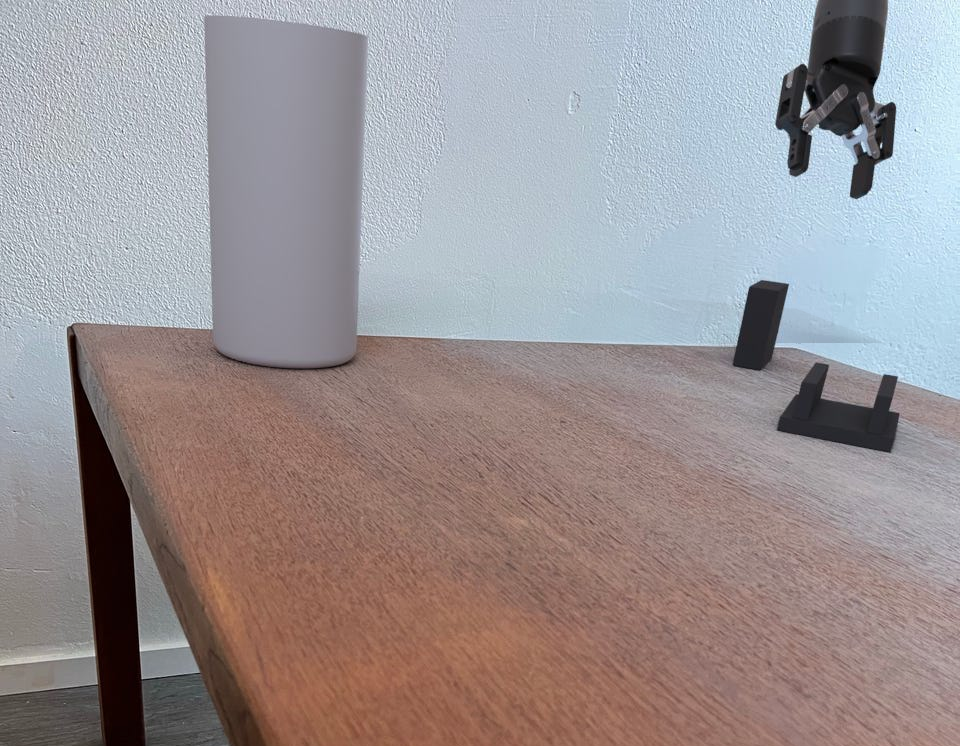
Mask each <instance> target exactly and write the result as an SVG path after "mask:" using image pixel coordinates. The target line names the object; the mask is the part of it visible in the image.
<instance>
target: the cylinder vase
mask: <svg viewBox="0 0 960 746" xmlns="http://www.w3.org/2000/svg"><path fill="white" fill-rule="evenodd" d="M203 22H204V24H203V25H204V56H205V57H204V58H205V63H204V64H205V93H206V94H205V95H206V98H205V99H206V129H207V130H206V132H207V169H208V173H207V175H208V203H209V204H208V205H209V208H208V209H209V241H210V243H209V245H210V277H211V279H210V280H211V284H210V285H211V314H212V315H211V316H212V317H211V318H212V342H213V346H214V348H215V349H216V350H217V351H218V352H219V353H220V354H222V356H223V355H224V356H225V357H228V358H230V359H232V360H234V359H235V361H238V362H241V361H242V362H241V363H245V362H246V363H245V364H251V365H255V366H263V367H270V368H280V369H321V368H322V369H323V368H330V367H335V366H336V367H337V366H339V365H344V364H345V363H347V362H350V361H351V360H352V359H353V358H354V357H355V355H356V352H357V345H358V344H357V341H358V314H359V291H360V289H359V288H360V266H361V264H360V263H361V239H362V238H361V237H362V213H363V211H362V210H363V187H364V185H363V183H364V159H365V135H366V108H367V107H366V106H367V85H368V83H367V81H368V58H369V36H367V35H365V34H362V33H358V32H355V31H349V30H344V29H338V28H333V27H327V26H321V25H314V24H309V23H301V22H294V21H285V20H276V19H268V18H260V17H259V18H258V17H248V16H235V15H218V14H217V15H211V14H210V15H205V16H204V17H203Z"/></svg>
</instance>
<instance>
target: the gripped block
mask: <svg viewBox="0 0 960 746" xmlns="http://www.w3.org/2000/svg"><path fill="white" fill-rule="evenodd" d="M789 286H790V283H787V282H786V283H785V282H778V281H772V280H766V279H760V280H759V281H756V282H755V283H753V284H751V285H750V286H748V289H747V294H746V300H745V305H744V309H743V313H742V318H741V323H740V327H739V333H738V337H737V341H736V345H735V351H734V356H733V360H732V366H733V365H734V366H735V367H740V368H744V367H745V369H751V370H756V371H761V370H762V369H763V368H764V367H765V366H766V365H768V363H769V362H770V361H771V360H772V359H773V357H774V356H773V355H774V352H775V348H776V342H777V339H778V334H779V330H780V325H781V322H782V321H781V320H782V316H783V313H784V308H785V303H786V300H787V295H788V291H789V288H790V287H789Z"/></svg>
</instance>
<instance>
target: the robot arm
mask: <svg viewBox="0 0 960 746" xmlns="http://www.w3.org/2000/svg"><path fill="white" fill-rule="evenodd" d="M816 2H817V3H816V7H815V11H814V14H813V22H812V30H811V39H810V46H809V54H808V62H807V65H806V64H804V63H801V64H799V65H797V66H796V67H794V68H793V69H791V70H790V71H789V72H787V73H785V74H784V75H783V77H782V84H781V89H780V95H779V101H778V106H777V111H776V116H775V123H774V124H775V127H776V129H777V130H779V131H785V132H786V133H787V138H788V139H789V147H788V154H787V161H786V164H787V169H789V170H788V174H789V176H791V177H794V178H798V177H799V176H801V175H803V174H805V173H807V171H808V169H809V167H810V166H809V164H810V157H811V150H812V141H813V135H812V134H810V133H811V132H812V131H813V130H814V129H815V128H816V127H817V125H818V128H819V129H820V130H823V131H830V132H831V133H832V134H834V135H835V136H839V137H841V139H842V141H843V144H844V146H845V148H846V149H849V150H850V152H851V155H852V157H853V160H854V164H853V166H852V174H851V181H850V189H849V197H850V198H852V199H854V200H858V199H861V198H862V197H864V196H865V197H866V195H868V194H869V192H870V191H871V190H872V188H873V184H874V175H875V167H876V165H878V164H879V163H882V162H884V161H886V160H888V159H890V158H892V157H893V154H894V146H895V145H894V144H895V143H894V142H895V131H896V118H897V106H896V103H895V102H893V101H890V102H888V103H886V104H883V103H880V102H876V100H875V95H874V88H875V85H876V83H877V81H878V79H879V76H880V74H881V71H882V70H881V68H882V61H883V53H884V44H885V37H886V28H887V20H888V11H889V0H817V1H816ZM804 96H806V98H807V102H808V104H809V107H808V108H807V110H806V111H805V112H804V113H803V114H802V115H801V113H802V106H803V103H804V102H803V100H804ZM860 126H861V133H859V134H857V135H856V134H855V133H854V131H856V130H857V129H858V128H859V127H860ZM862 142H863V144H864V145H863V146H864V147H865V150H866V151H864V149H863V146H862Z"/></svg>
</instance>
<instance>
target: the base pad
mask: <svg viewBox="0 0 960 746" xmlns="http://www.w3.org/2000/svg"><path fill="white" fill-rule="evenodd" d="M829 367H830V364H827V363H823V362H822V363H821V362H815V363H814V364H813V366H812V367H811V368H810V370H809V371H808V372H807V374H806V375H805V377H804V378H803V379H802V380H801V383H800V387H799V391H798V394H797V393H795V395H794V396H793V397H792V399H791V401H790V402H789V403H788V405H787V406H786V408H785V409H784V410H783V412H782V413H781V415H780V416H779V418H778V419H779V420H778V424H777V428H776V431H780V432H784V433H789V434H794V435H799V436H804V437H810V438H816V439H820V440H824V441H831V442H835V443H841V444H845V445H851V446H856V447H861V448H866V449H872V450H875V451H882V452H888V453H891V452H892V450H893V446H894V443H895V439H896V435H897V430H898V424H899V420H900V415H901V414H900V412H897V411H891V409H890V408H891V407H892V402H893V399H894V395H895V390H896V386H897V382H898V380H899V379H898V378H899V376H898V375H892V374H886V373H883V375H882V378H881V381H880V383H879V387H878V390H877V393H876V396H875V400H874V403H873V406H872V407H869V406H863V405H860V404H859V405H858V404H853V403H848V402H847V403H846V402H842V401H837V400H832V399H825V398H822V395H823V391H824V387H825V382H826V379H827V376H828V372H829Z"/></svg>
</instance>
